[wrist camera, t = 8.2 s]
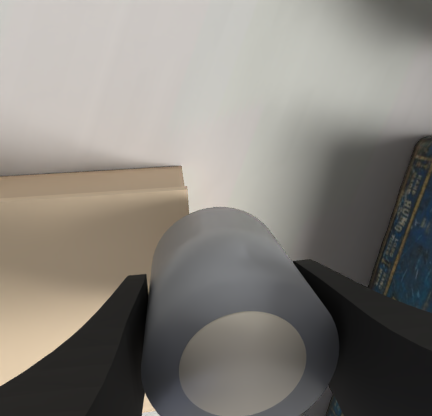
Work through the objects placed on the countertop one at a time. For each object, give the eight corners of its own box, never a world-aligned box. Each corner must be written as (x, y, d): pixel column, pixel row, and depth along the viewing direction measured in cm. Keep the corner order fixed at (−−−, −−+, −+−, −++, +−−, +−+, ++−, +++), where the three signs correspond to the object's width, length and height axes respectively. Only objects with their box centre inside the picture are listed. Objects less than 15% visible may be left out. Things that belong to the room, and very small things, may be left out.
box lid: (200, 396, 18) (200, 404, 18) (-104, 437, 17) (-112, 447, 16) (186, 186, 14) (187, 189, 14) (-218, 212, 13) (-233, 217, 12)
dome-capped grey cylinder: (276, 316, 14) (330, 429, 9) (156, 327, 14) (148, 453, 9) (282, 203, 13) (352, 270, 8) (146, 210, 12) (131, 287, 7)
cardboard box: (193, 341, 23) (198, 396, 19) (-47, 368, 21) (-100, 436, 17) (181, 166, 19) (184, 187, 15) (-115, 183, 17) (-207, 212, 13)
